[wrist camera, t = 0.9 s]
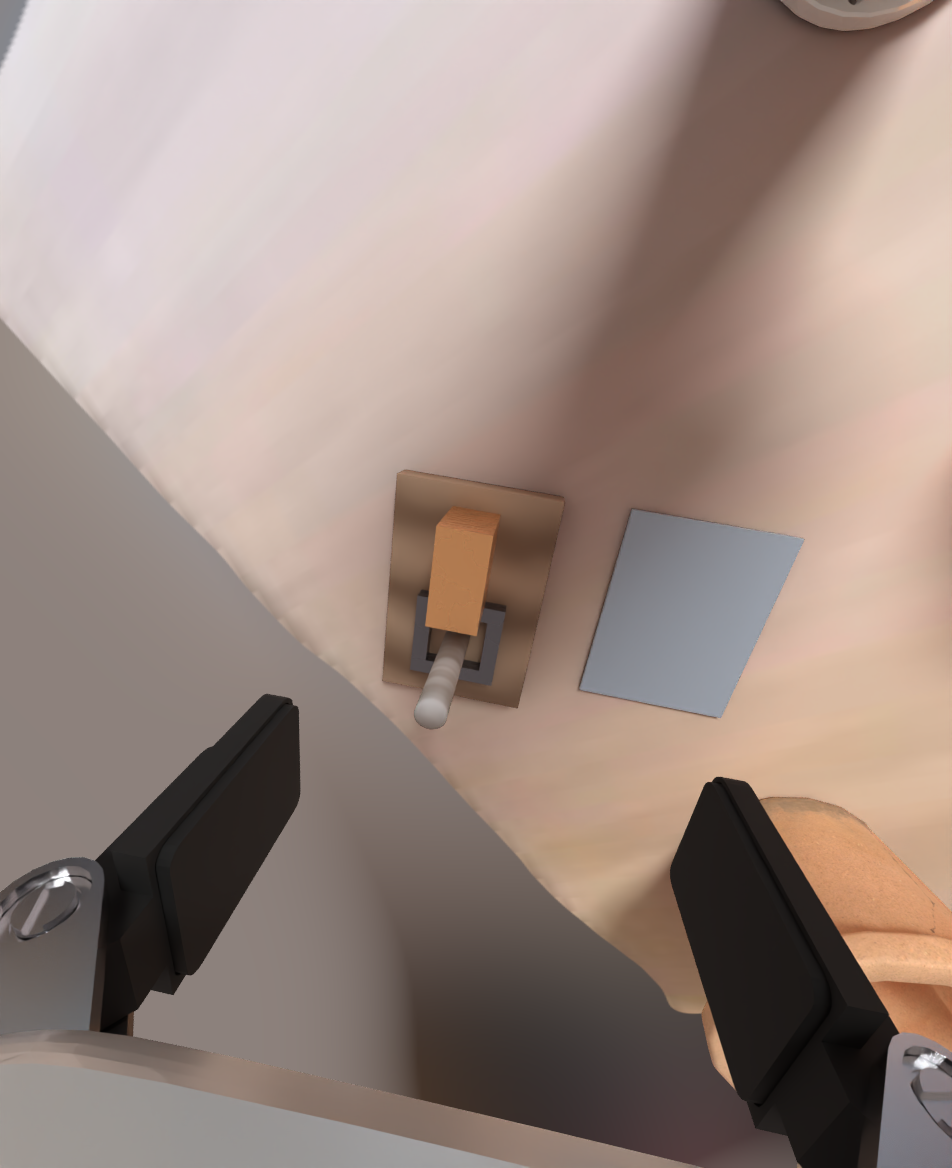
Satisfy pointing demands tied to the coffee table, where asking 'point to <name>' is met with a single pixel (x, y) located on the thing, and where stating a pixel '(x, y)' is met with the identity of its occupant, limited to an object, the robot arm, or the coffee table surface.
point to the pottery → (869, 917)
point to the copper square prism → (460, 591)
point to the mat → (685, 610)
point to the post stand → (512, 583)
